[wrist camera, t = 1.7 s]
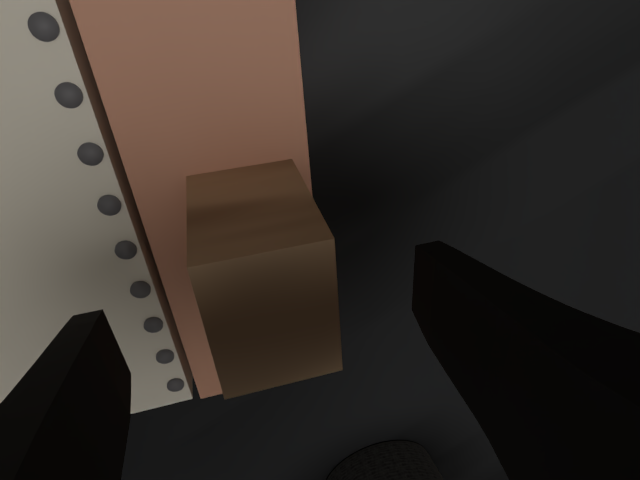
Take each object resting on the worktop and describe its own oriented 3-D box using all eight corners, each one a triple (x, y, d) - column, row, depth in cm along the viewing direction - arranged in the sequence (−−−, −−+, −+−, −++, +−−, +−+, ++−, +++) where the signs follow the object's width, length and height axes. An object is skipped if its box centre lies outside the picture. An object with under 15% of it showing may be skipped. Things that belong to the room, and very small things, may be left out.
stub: (318, 341, 19) (364, 473, 14) (199, 369, 18) (204, 520, 13) (279, -47, 12) (349, -51, 7) (74, -30, 11) (-21, -20, 6)
